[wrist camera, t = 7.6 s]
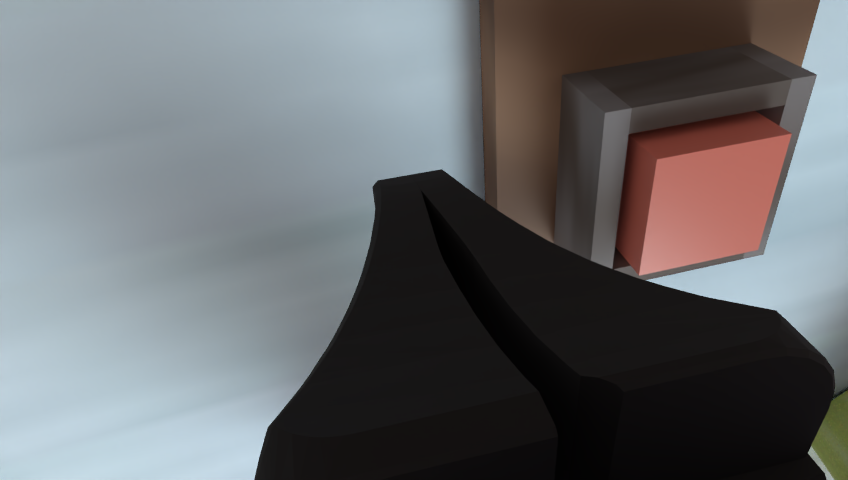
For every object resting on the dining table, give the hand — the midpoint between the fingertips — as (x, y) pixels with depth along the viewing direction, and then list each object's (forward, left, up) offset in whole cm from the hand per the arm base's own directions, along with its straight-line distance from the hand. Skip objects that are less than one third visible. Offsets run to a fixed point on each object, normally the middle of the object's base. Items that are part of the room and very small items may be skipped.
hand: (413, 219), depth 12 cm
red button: (-10, -4, -7) cm, 13 cm away
